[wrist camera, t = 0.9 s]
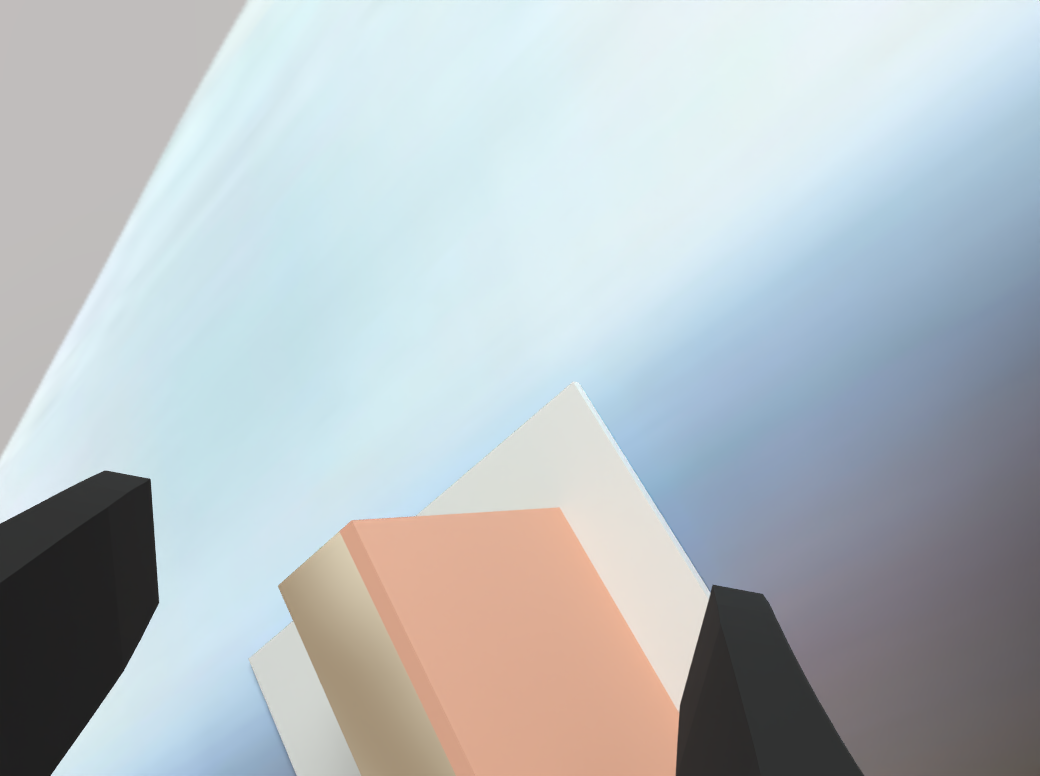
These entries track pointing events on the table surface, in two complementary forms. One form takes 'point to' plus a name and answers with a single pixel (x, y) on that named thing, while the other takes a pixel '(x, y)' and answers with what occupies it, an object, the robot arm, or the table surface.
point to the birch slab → (478, 651)
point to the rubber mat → (599, 528)
